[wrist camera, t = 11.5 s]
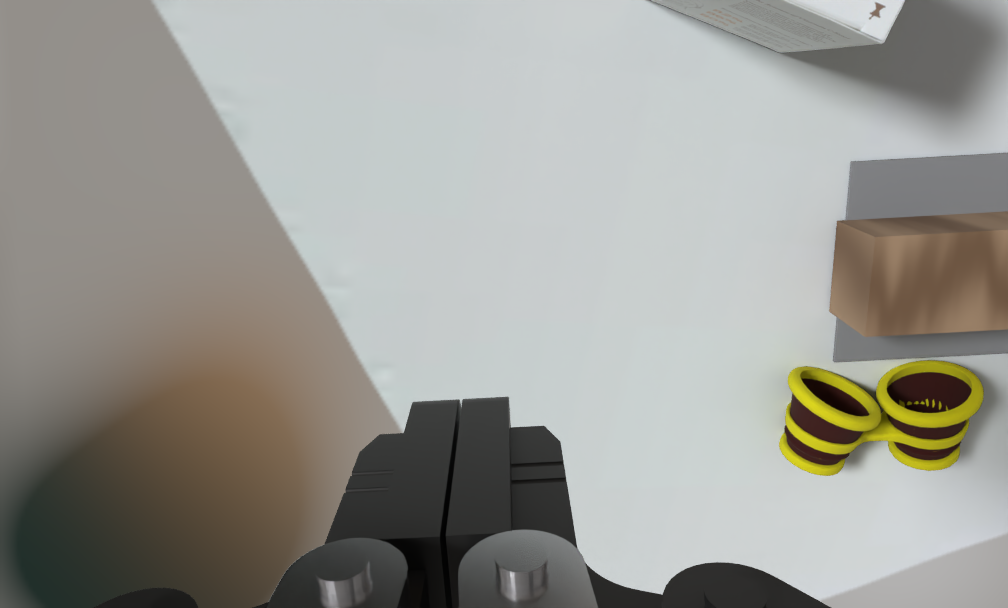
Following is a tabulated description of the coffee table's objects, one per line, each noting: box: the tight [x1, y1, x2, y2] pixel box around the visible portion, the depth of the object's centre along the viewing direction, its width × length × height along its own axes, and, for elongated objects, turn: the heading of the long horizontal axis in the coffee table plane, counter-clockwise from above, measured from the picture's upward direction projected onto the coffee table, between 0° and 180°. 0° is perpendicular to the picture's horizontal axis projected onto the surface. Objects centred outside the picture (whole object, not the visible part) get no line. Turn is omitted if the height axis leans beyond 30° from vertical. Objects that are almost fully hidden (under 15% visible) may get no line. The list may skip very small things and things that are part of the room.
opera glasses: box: [779, 360, 984, 476], centre depth 39 cm, size 10×5×5 cm, turn 93°
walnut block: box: [829, 211, 1008, 337], centre depth 36 cm, size 5×4×11 cm
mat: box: [833, 153, 1008, 362], centre depth 38 cm, size 11×13×1 cm
